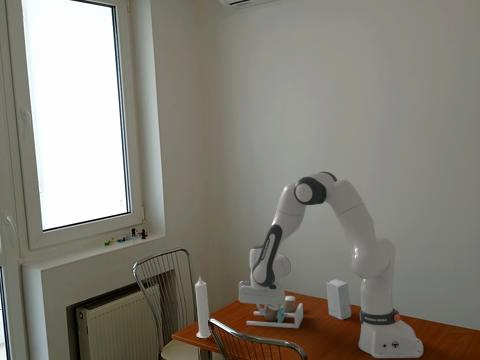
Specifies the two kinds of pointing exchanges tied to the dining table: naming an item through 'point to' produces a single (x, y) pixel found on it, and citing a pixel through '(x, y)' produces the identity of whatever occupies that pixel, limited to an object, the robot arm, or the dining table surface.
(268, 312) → the jar front
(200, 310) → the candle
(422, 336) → the dining table surface
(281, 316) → the plate
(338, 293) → the skincare box
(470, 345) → the dining table surface
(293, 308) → the jar
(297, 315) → the lane
